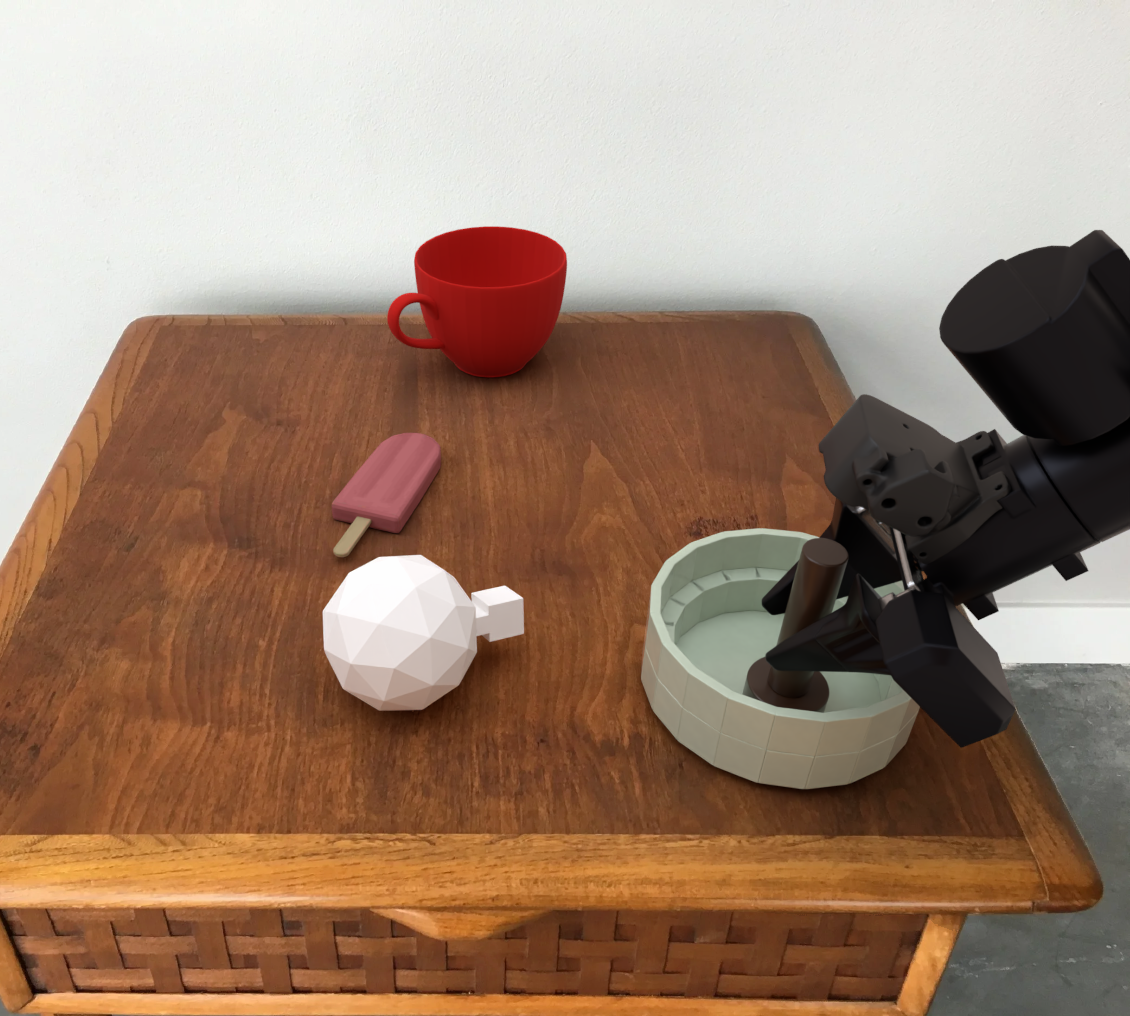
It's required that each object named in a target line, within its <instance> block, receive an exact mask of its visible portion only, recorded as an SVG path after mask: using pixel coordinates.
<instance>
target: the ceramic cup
mask: <svg viewBox="0 0 1130 1016" xmlns="http://www.w3.org/2000/svg"><path fill="white" fill-rule="evenodd" d="M413 264H414V275H415V285H416V291H417V292H407V293H402V294H401V295H399V296H397V297H396V298H395V299H394V300H392V302H391V303H390V306H389V307H388V310H387V314H386V315H387V317H386V318H387V319H386V320H387V321H386V322H387V325H388V328H389V330H390V332H391V333H392V335H393V337H395V339H397V340H398V342H400V343H402V344H403V345H405V346H408V347H411V348H413V349H414V348H415V349H423V350H439V351H441V353H442V354H444V356H445V357H446V358H447V359H449V361H451V362H452V363H453V364H454V365H455V367H456V368H457V369H458V370H460V371H462V372H463V373H466V374H467V375H471V376H473V377H479V378H500V377H501V378H502V377H506V376H510V375H513V374H516V373H517V372H520V370H522V369H524V367H525V366H526V364H527V363H529V362H530V361H531V360H532V359H533V358H534V357H536V355H537V354H538V353H539V352H540V350H542V348H544V346H545V344H546V343H547V342H548V340H549V339H550V337H551V335H552V333H553V331H554V330H555V326H556V324H557V321H558V318H559V316H560V312H561V309H562V305H563V300H564V295H565V294H564V293H565V289H566V282H567V281H566V280H567V272H568V258H567V253H566V250H565V249H564V247H563V246H562V245H561V244H560V243H558V241H556V240H554V239H553V238H551V237H550V236H547V235H545V234H542V233H539V232H536V231H532V230H528V229H525V228H517V227H510V226H496V225H495V226H485V225H483V226H474V227H473V226H472V227H464V228H459V229H454V230H449V231H446V232H443V233H441V234H438V235H435V236H434V237H432V238H430V239H428V240H426V241H425V242H423V243H422V244H421V245H419V247H418V248H417V250H416V251H415V253H414V259H413ZM413 304H419V307H420V311H421V313H422V319H423V321H424V324H425V327H426V329H427V331H428V333H429V335H430V337H431V338H416V337H411V336H408V335H407V334H405V333H404V332H403V330H402V329H401V326H400V317H401V314H402V312H403V311H404V310H405V308H407V307H408V306H409V305H413Z"/></svg>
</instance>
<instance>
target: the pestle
mask: <svg viewBox="0 0 1130 1016" xmlns="http://www.w3.org/2000/svg"><path fill="white" fill-rule="evenodd" d="M848 558H849V556H848V552H847V550H846V549H845V548H844V547H843V546H842V545H841V544H839V543H838V542H836V541H833V540H830V539H826V538H814V539H810V540H808V541H807V542H806V543H805V544H804V545H803V547H802V551H801V554H800V558H799V562H798V566H797V570H796V573H795V577H794V581H793V585H792V588H791V592H790V596H789V600H788V603H787V607H786V611H785V615H784V618H783V622H782V626H781V630H780V634H779V637H778V641H777V645H778V644H780V643H781V642H782V641H784V640H785V639H787V638H789V637H790V636H792V635H794V634H796V633H797V632H799V631H801V630H803V629H804V628H806V627H808V626H809V625H811V624H813V623H815V622H816V621H818V620H820V619H822V618H823V617H825V616H827V615H829V614H830V613H832V611H833V608H834V605H835V601H836V598H837V595H838V591H839V588H840V585H841V582H842V578H843V575H844V572H845V568H846V565H847V562H848ZM777 645H776V646H777ZM829 693H830V692H829V686H828V683H827V681H826V679H825V677H824V676H823V675H822V673H821V672H816V671H778V670H775V669H774V668H773V667H772V666H771V665H770V664H769V663H768V662H767V661H766V658H765V657H763V658H760V659H759V660H757V661H756V662H754V663H753V664H752V665H751V667H750V668H749V670H748V673H747V677H746V681H745V685H744V689H743V693H742V695H745V696H748V697H751V698H753V699H756V700H759V701H762V702H765V703H768V704H770V705H773V706H776V707H782V708H790V709H798V710H806V711H814V712H822V713H824V711H825V708H826V705H827V702H828V699H829Z"/></svg>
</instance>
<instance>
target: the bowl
mask: <svg viewBox="0 0 1130 1016" xmlns="http://www.w3.org/2000/svg"><path fill="white" fill-rule="evenodd" d="M819 537H820V536H817V535H814V534H809V533H806V532H802V531H795V530H784V529H775V528H765V527H763V528H762V527H761V528H760V527H757V528H746V529H735V530H725V531H720V532H717V533H714V534H712V535H709V536H705V537H703V538H700V539H697V540H694V541H692V542H689V543H688V544H687V545H685V546H683V547H682V548H681V549H680V550H678V551H677V552H675V553H674V554H673V555H671V556H669V558H667V559H666V560H665V561H664V563H663V564H662V566H661V568H660V569H659V571H658V573H657V575H656V576H655V577H654V579H653V581H652V583H651V585H650V592H649V597H648V599H649V600H648V607H647V615H646V621H645V630H644V638H643V643H642V653H641V671H640V680H641V683H642V685H643V688H644V691H645V694H646V697H647V700H648V702H649V705H650V707H651V710H652V712H653V713H654V714H655V715H656V716H657V718H658V719H659V720H660V722H661V723H662V724H663V726H665V728H666V729H667V730H668V731H669V732H670V734H671V735H672V736H673V738H674V739H675V740H677V742H678V743H679V744H681V745H683V746H684V747H686V748H687V749H689V750H690V751H691V752H693V753H694V754H696V755H697V756H698V757H700V758H702V760H704V761H706V762H707V763H709V764H710V765H711V766H713V767H714V768H718V769H720V770H723V771H726V772H728V773H730V774H732V775H736V776H738V777H741V778H743V779H746V780H748V781H752V782H754V783H756V784H762V785H769V786H778V787H784V788H792V789H799V790H813V789H820V788H829V787H836V786H837V787H838V786H846V785H850V784H852V783H854V782H857V781H859V780H861V779H863V778H865V777H867V776H870V775H872V774H874V773H877V772H879V771H880V770H883V769H884V768H886V767H887V765H888V764H889V763H890V762H891V761H892V760H893V759H894V758H895V757H896V755H897V754H899V752H900V751H901V750H902V749H903V747H904V746H905V745H906V744H907V742H908V741H909V738H910V734H911V732H912V729H913V727H914V724H915V722H916V719H917V717H918V714H919V711H920V709H921V707H920V706H919V705H918V704H917V703H916V702H915V701H914V700H913V699H912V698H911V697H910V696H909V695H908V694H907V693H906V692H905V691H904V690H903V689H902V688H901V687H900V686H899V685H898V684H897V683H896V682H895V681H894V680H893V678H892V676H890V675H881V674H872V673H858V672H821V673H822V675H823V676H824V677H825V679H826V681H827V683H828V686H829V692H830V693H829V699H828V702H827V705H826V708H825V711H824V713H822V712H814V711H806V710H798V709H790V708H782V707H776V706H773V705H770V704H768V703H765V702H762V701H759V700H756V699H753V698H751V697H748V696H745V695H742V693H743V689H744V685H745V681H746V677H747V673H748V670H749V668H750V667H751V665H752V664H753V663H754V662H756V661H757V660H759V659H760V658H763V657H765V655H766V653H767V652H768V651H770V650H771V649H773V648H774V647H775V646H776V645H777V641H778V637H779V634H780V630H781V626H782V622H783V618H784V615H785V613H783V614H779V615H771V614H769V613H768V612H767V611H766V610H765V609H764V608H763V607H762V602H761V601H762V598H763V597H764V596H765V595H766V594H767V593H768V592H769V591H770V590H771V589H772V588H773V587H774V586H775V584H776V583H777V582H778V581H779V580H780V579H781V578H782V577H783V576H784V575H785V574H786V573H787V572H788V571H789V570H790V569H791V568H792V567H793V566H794V565H795V563H796V562H797V561H798V560H799V558H800V554H801V551H802V547H803V545H804V544H805V543H806V542H807V541H808V540H810V539H814V538H819ZM874 590H875V591H876V592H877V593H878V594H879V595H880V596H881V597H883V596H885V595H887V594H889V593H892V592H893V593H894V594H895V595H897V594H899V593H901V592H903V591H904V586H903V582H902V581H899V582H896V583H892V584H889V585H885V586H882V587H879V588H875V589H874ZM847 599H848V596H847V597H844V598H840V599H837V600H836V601H835V605H834V608H833V611H832V612H834V611H835V610H837V609H839V608H841V607H842V606H844V605H845V603H846V602H847Z"/></svg>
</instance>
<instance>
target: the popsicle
mask: <svg viewBox="0 0 1130 1016" xmlns="http://www.w3.org/2000/svg"><path fill="white" fill-rule="evenodd" d="M441 467H442V449H441V445H440V444H439V442H437V441H436V439H435V438H434V437H431V436H430V435H427V434H426V433H420V432H403V433H399V434H394V435H391V436H390V437H388V438H386V439H385V440H383V441H381V442H380V444H378V445H377V447H375V449H374V450H373V452H372V453H371V454H370V455H369V456H368V458H367V459H366V460H365V461H364V462H363V463H362V465H361V466H360V467H359V469H357V471H356V472H355V473H354V474H353V476H352V477H351V478H350V479H349V481H348V482H347V483H346V484H345V486H344V487H343V488H342V489H341V491H340V492H339V493H338V495H337V496H336V497H335V498H334V500H333V501H332V503H331V513H332V518H333V519H334V520H335V521H340V522H345V523H349V524H350V526H349V527H348V528H347V530H346V531H345V532H344V533H343V535H342V536H341V538H340V539H339V540H338V542H337V543H336V545H335V546H334V547H333V549H332V551H333V555H334V556H335V557H338V558H345V557H348V556H349V555H350V554H351V553H352V551H353V550H354V548H355V547H356V545H357V544H358V542H359V541H360V540H361V538H362V537H363V535H364V534H365V532H366V531H367V530H368V528H370V529H375V530H379V531H384V532H388V533H393V534H399V533H401V531H402V530H403V529H404V527H405V525H406V523H407V522H408V521H409V519H410V518H411V516H412V514H413V513H414V511H415V510H416V508H417V507H418V505H419V504H420V502H421V501H422V500H423V497H424V496H425V494H426V492H427V491H428V489H429V487H430V485H431V484H432V482H433V481H434V479H435V478H436V476H437V474H438V473H439V472H440V469H441Z"/></svg>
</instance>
